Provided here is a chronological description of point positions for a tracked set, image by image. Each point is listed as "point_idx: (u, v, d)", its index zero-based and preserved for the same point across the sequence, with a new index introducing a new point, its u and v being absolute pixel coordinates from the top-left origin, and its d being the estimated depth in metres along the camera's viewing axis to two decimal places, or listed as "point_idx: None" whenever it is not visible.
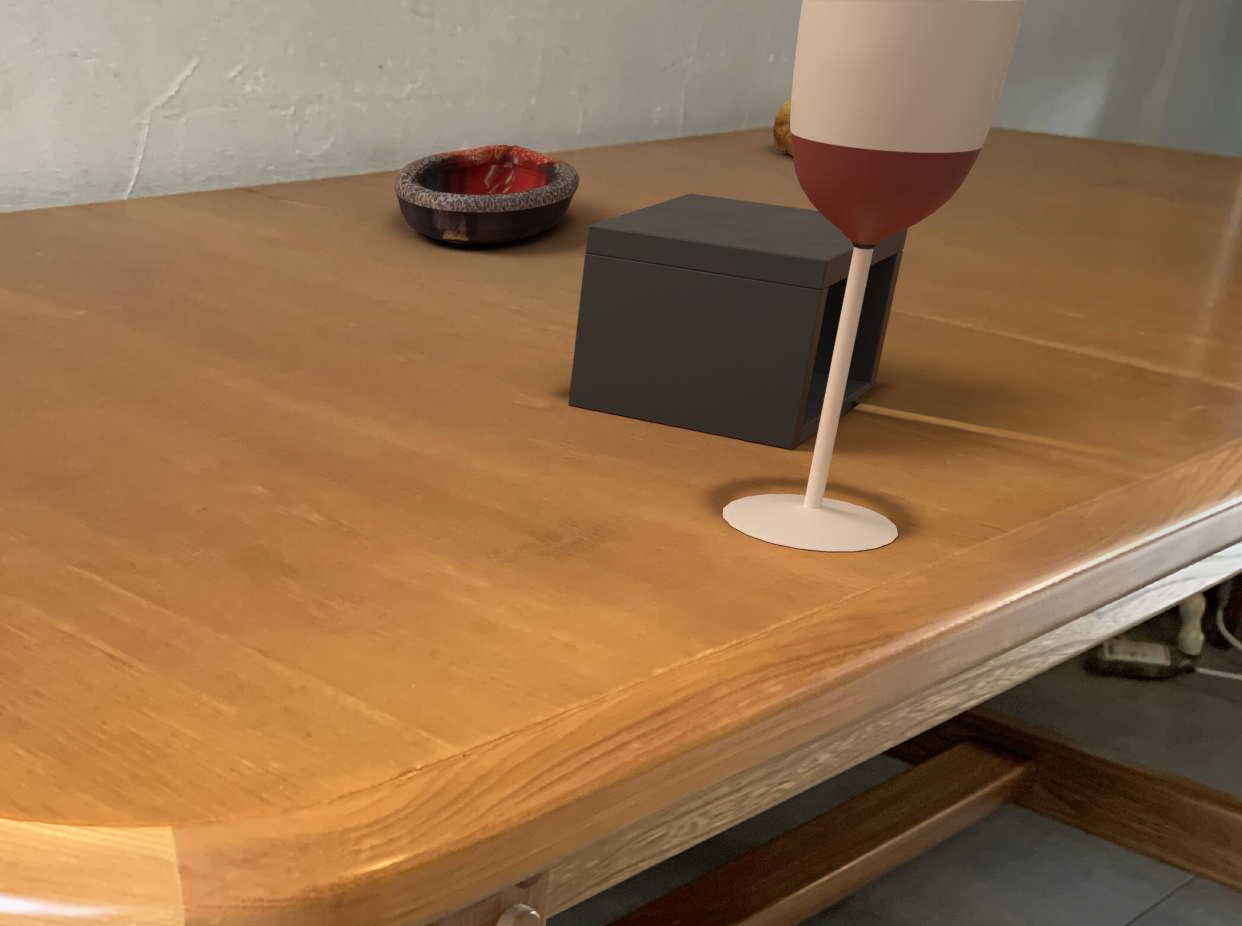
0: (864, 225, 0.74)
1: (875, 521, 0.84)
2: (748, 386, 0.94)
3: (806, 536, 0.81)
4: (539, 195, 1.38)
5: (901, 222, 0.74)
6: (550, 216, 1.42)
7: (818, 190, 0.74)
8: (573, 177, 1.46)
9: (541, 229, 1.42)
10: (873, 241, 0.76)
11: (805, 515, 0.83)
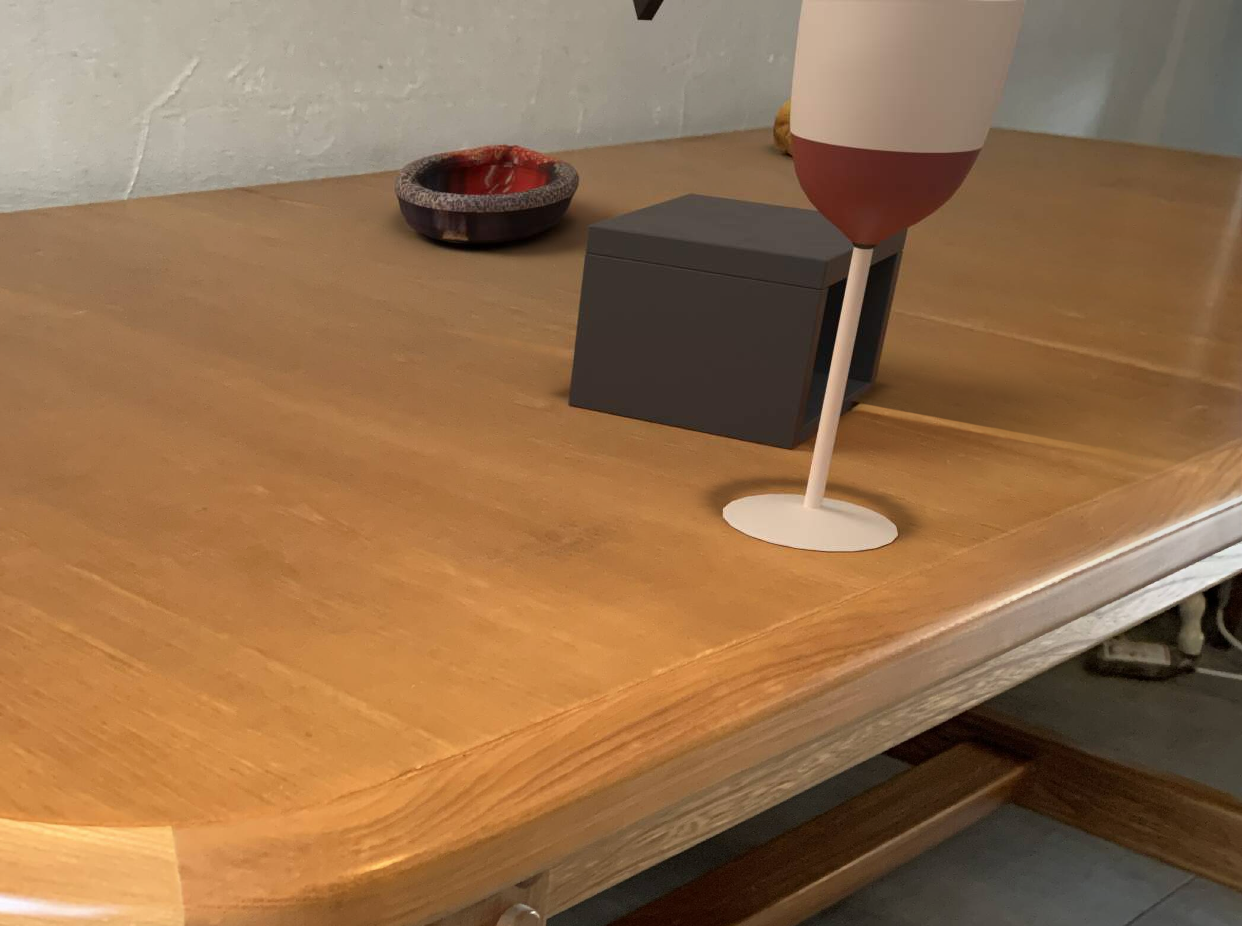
0: (864, 225, 0.74)
1: (875, 521, 0.84)
2: (748, 386, 0.94)
3: (806, 536, 0.81)
4: (539, 195, 1.38)
5: (901, 222, 0.74)
6: (550, 216, 1.42)
7: (818, 190, 0.74)
8: (573, 177, 1.46)
9: (541, 229, 1.42)
10: (873, 241, 0.76)
11: (805, 515, 0.83)
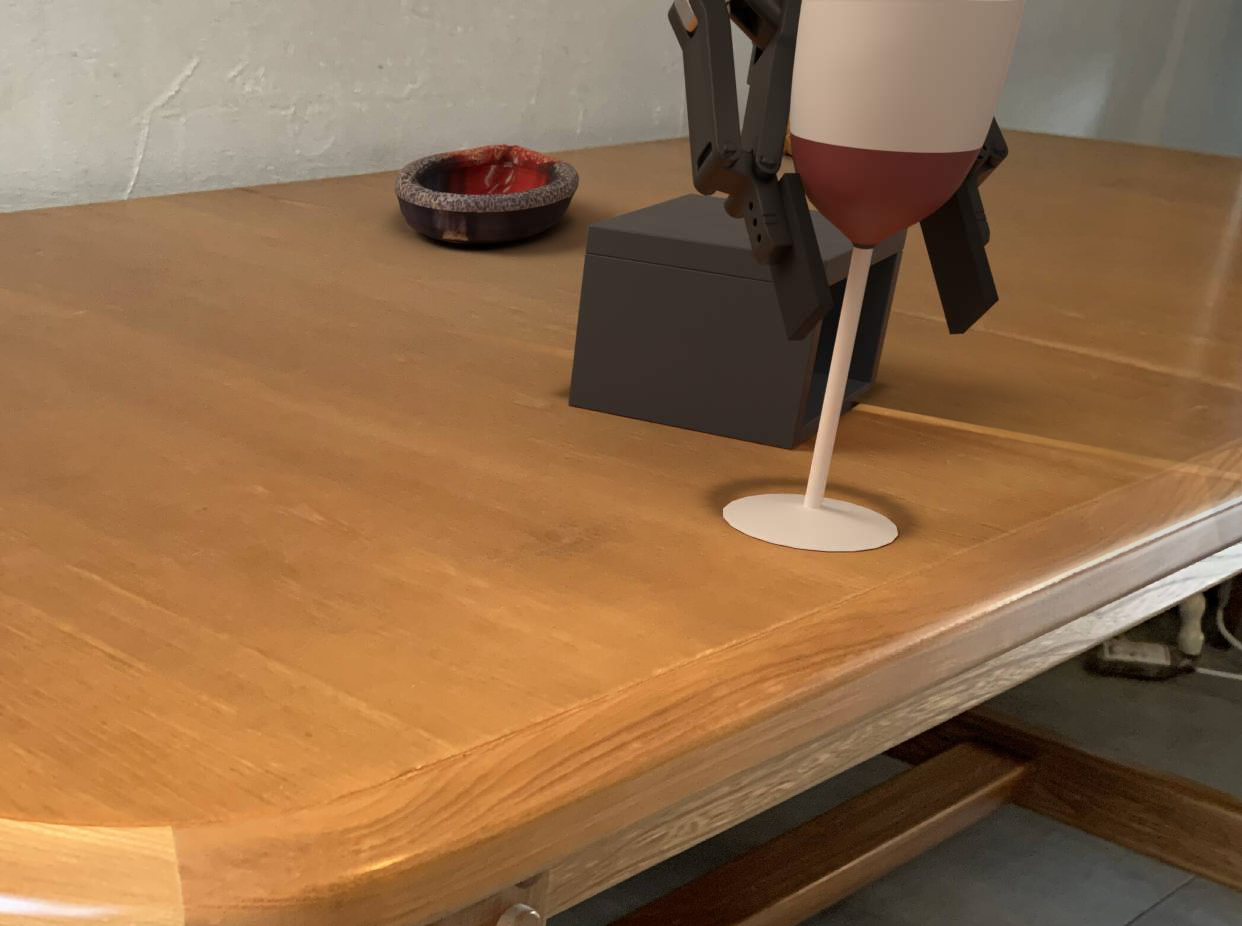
0: (864, 224, 0.74)
1: (875, 521, 0.84)
2: (748, 386, 0.94)
3: (806, 536, 0.81)
4: (539, 195, 1.38)
5: (901, 222, 0.74)
6: (550, 215, 1.42)
7: (817, 190, 0.74)
8: (573, 177, 1.46)
9: (541, 229, 1.42)
10: (873, 241, 0.76)
11: (805, 515, 0.83)
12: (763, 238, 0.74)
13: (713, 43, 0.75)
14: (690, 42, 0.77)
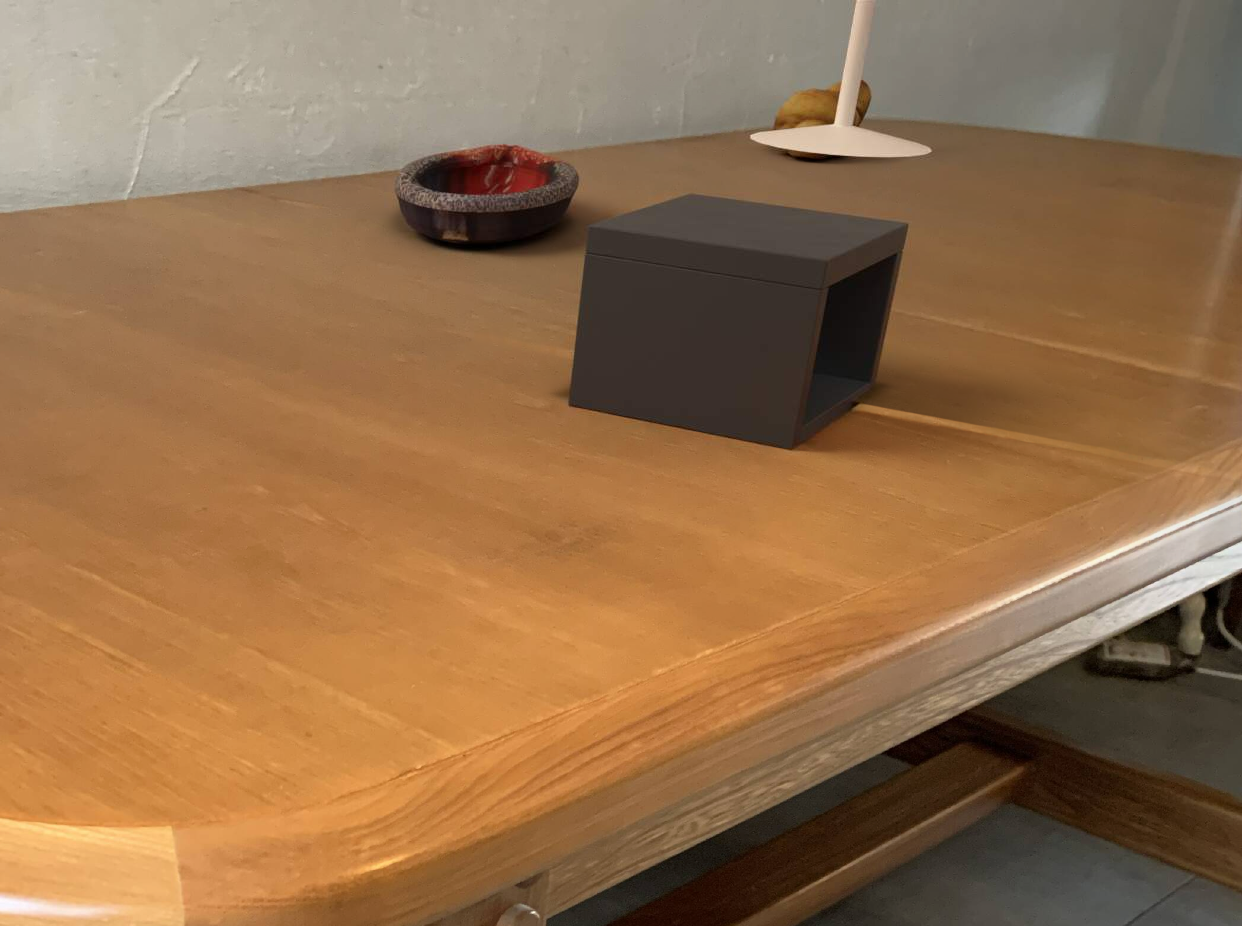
0: None
1: (908, 141, 0.81)
2: (748, 386, 0.94)
3: (838, 146, 0.79)
4: (539, 195, 1.38)
5: None
6: (550, 215, 1.42)
7: None
8: (573, 177, 1.46)
9: (541, 229, 1.42)
10: None
11: (836, 131, 0.80)
12: None
13: None
14: None
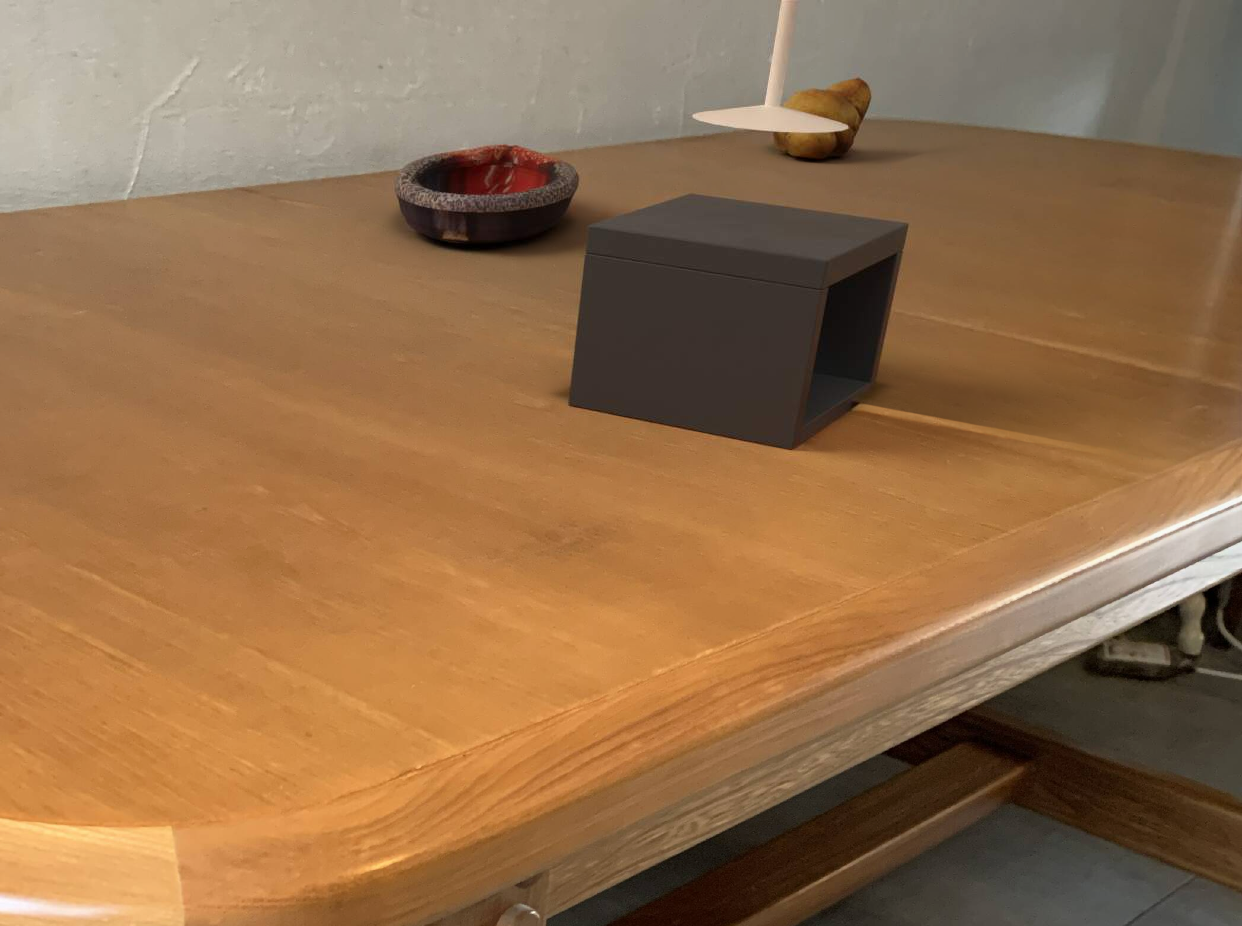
0: None
1: (828, 120, 0.94)
2: (748, 386, 0.94)
3: (766, 123, 0.91)
4: (539, 195, 1.38)
5: None
6: (550, 215, 1.42)
7: None
8: (573, 177, 1.46)
9: (541, 229, 1.42)
10: None
11: (765, 110, 0.93)
12: None
13: None
14: None
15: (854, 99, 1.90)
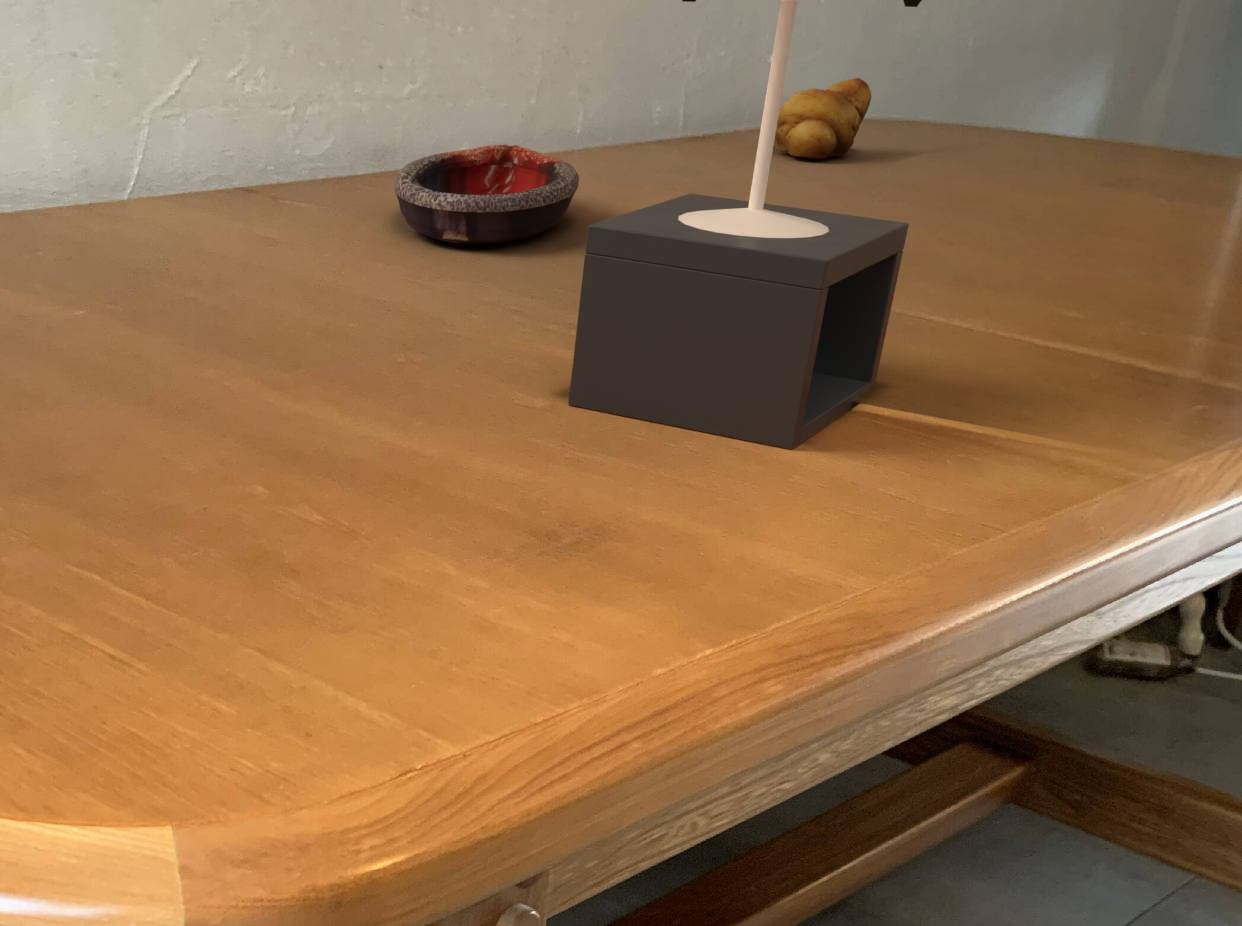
0: None
1: (810, 222, 0.97)
2: (748, 386, 0.94)
3: (749, 228, 0.95)
4: (539, 195, 1.38)
5: None
6: (550, 215, 1.42)
7: None
8: (573, 177, 1.46)
9: (541, 229, 1.42)
10: None
11: (748, 214, 0.96)
12: None
13: None
14: None
15: (854, 99, 1.90)
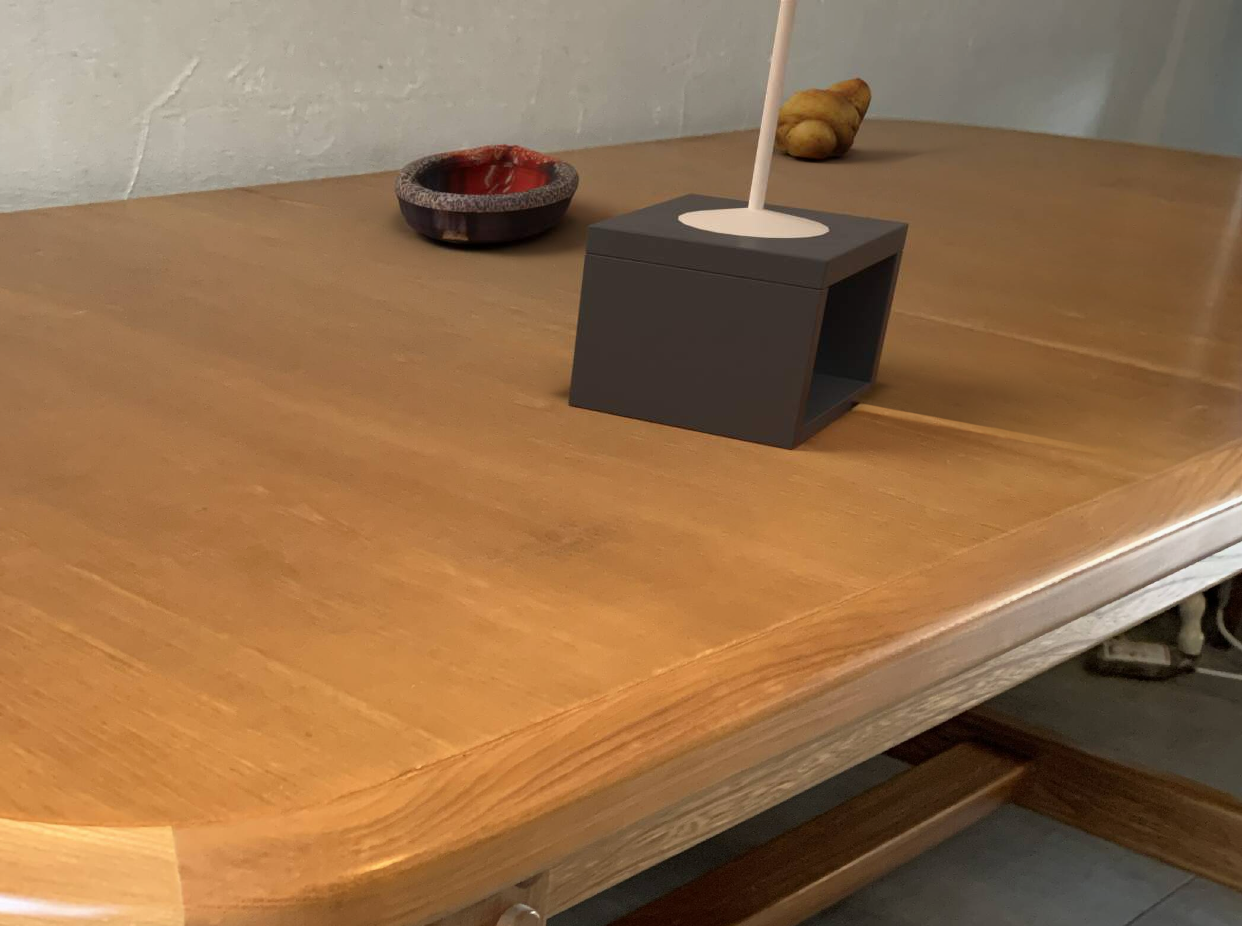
0: None
1: (810, 222, 0.97)
2: (748, 386, 0.94)
3: (749, 228, 0.95)
4: (539, 195, 1.38)
5: None
6: (550, 215, 1.42)
7: None
8: (573, 177, 1.46)
9: (541, 229, 1.42)
10: None
11: (748, 214, 0.96)
12: None
13: None
14: None
15: (854, 99, 1.90)
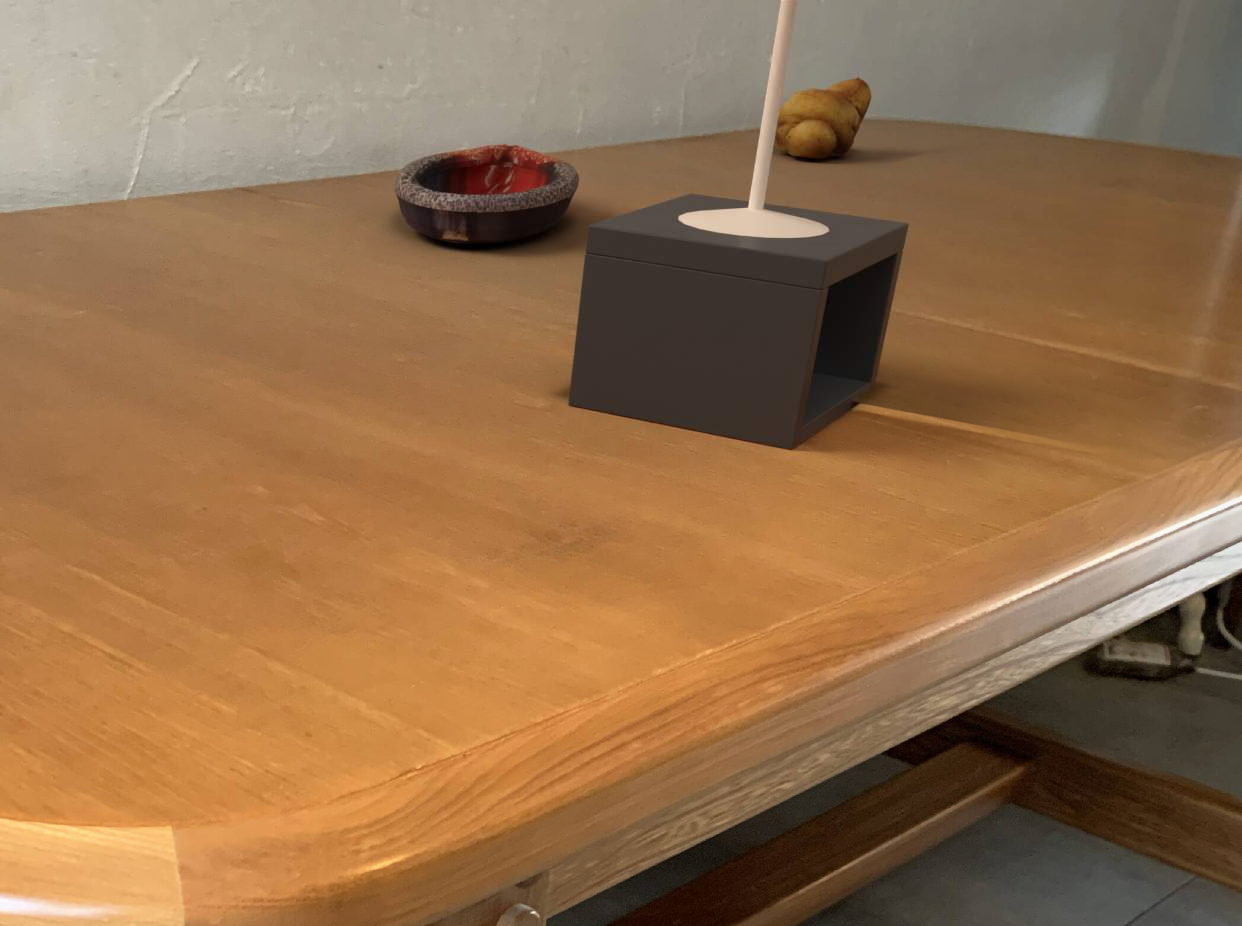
0: None
1: (810, 222, 0.97)
2: (748, 386, 0.94)
3: (749, 228, 0.95)
4: (539, 195, 1.38)
5: None
6: (550, 215, 1.42)
7: None
8: (573, 177, 1.46)
9: (541, 229, 1.42)
10: None
11: (748, 214, 0.96)
12: None
13: None
14: None
15: (854, 99, 1.90)
